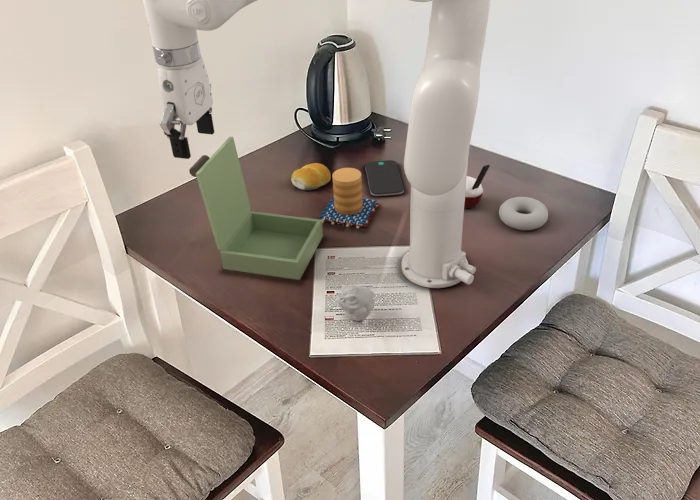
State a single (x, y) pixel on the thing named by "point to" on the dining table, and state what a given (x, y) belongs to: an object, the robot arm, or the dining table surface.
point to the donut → (516, 220)
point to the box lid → (222, 190)
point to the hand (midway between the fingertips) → (194, 145)
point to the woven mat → (358, 218)
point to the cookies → (347, 191)
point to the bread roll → (311, 176)
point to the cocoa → (474, 189)
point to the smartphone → (384, 178)
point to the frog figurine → (356, 301)
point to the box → (272, 245)
